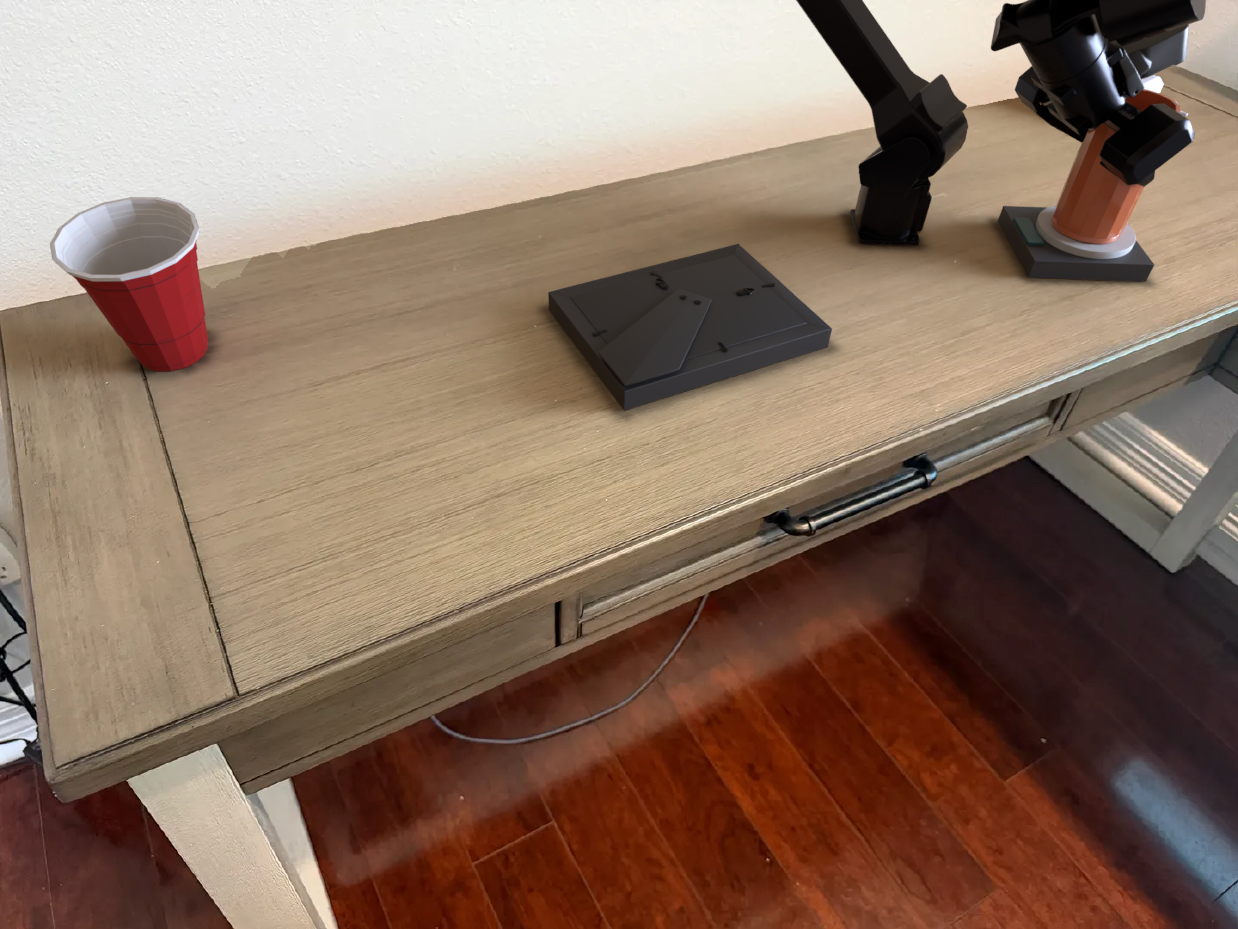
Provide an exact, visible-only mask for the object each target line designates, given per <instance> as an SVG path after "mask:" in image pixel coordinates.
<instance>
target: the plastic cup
mask: <svg viewBox="0 0 1238 929" xmlns="http://www.w3.org/2000/svg"><path fill="white" fill-rule="evenodd" d="M199 235H200V225H199V222H198V219H197V216H196V214H195V212H194V211H192V210H191V209H189V208H188V207H187V206H185V205H184V204H182V203H181V202H178V201H175V200H170V199H166V198H162V197H158V196H155V197H154V196H130V197H124V198H120V199H115V200H109V201H105V202H102V203H98V204H96V205H94V206H91V207H90V208H87V209H85V210H82V211H79V212H77V213H76V214H75V215H74V216H73V217H71V218H70V219H68V220H67V221H65V222H64V223H63V224H62V225H60V226H59V227H58V228H57V230H56V232H55V234H54V235H53V237H52V239H51V240H50V242H49V249H50V256H51V260H52V261H53V262H54V263H55V264H56V265H58V267H60V268H61V269H62V270H63V271H64V272H65V273H66V274H68V275H69V276H71V277H73V279H75V280H76V281H77V283H78V284H79V286H81V288H83V289H84V291H85V292H86V293H87V295H88V296H89V297H90V299H91V301H93V303H94V305H96V307H97V308H98V310H99V311H100V313H101V314H102V315H103V316H104V318H105V319H106V321H107V322H108V324H109V325H110V327H111V328H112V329H113V330H114V332H115V333H116V335H117V336H119V337H120V338H121V339H122V341H123V342H124V344H125V345H126V347H127V349H128V350H129V351H130V353H131V354H132V356H133V357H134V358H135V359H136V360H137V361H138V362H139V363H140V364H141V365H142V366H143V367H145V368H146V369H148V370H151V371H155V372H173V371H177V370H182V369H185V368H187V367H189V366H191V365H193V364H195V363H197V362H199V361H200V359H201V358H203V357H204V356H205V355H206V353H207V350H208V348H209V345H208V343H209V336H208V330H207V324H206V318H205V316H206V310H205V304H204V298H203V292H202V285H201V284H202V283H201V279H200V272H199V266H198V261H199V258H198V251H197V250H198V246H197V241H198V237H199Z"/></svg>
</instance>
